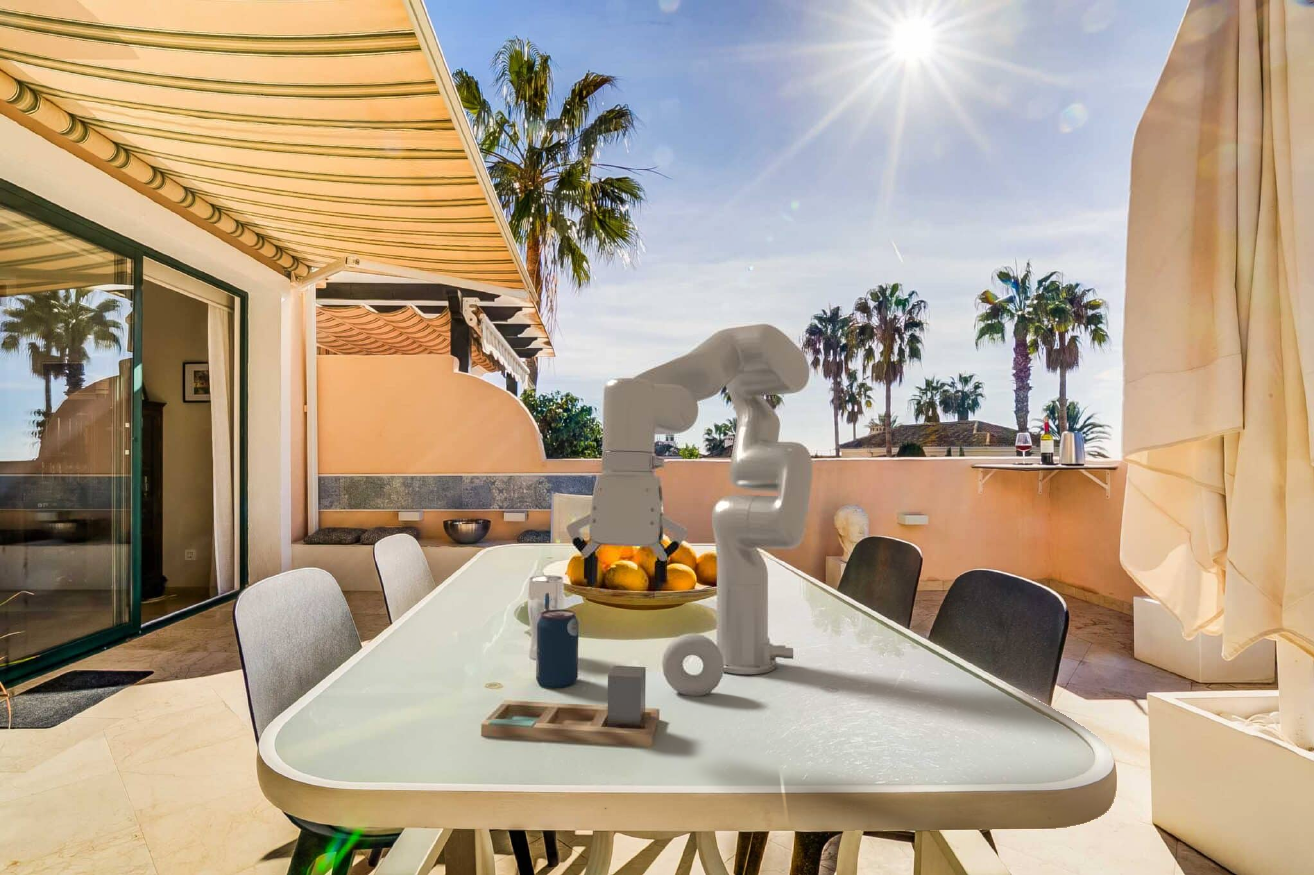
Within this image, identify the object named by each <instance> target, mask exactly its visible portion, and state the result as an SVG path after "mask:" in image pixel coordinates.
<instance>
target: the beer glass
mask: <svg viewBox="0 0 1314 875" xmlns="http://www.w3.org/2000/svg"><path fill="white" fill-rule="evenodd" d="M528 580H529V581H528V588H527V590H528V591H527V611H528V613H527V614H528V621H529V627H530V636H531V641H530V647H529V651H528V652H529V653H528V657H529V658H530V659H531V658H532V660H534V659H536V658H537V623H538V621H539V619H540V617H541V613H542V612H544V611H548V610H556V609H564V604H565V594H564V593H565V590H564V589H565V588H564V587H565V586H564V577H563V576H559V575H551V574H550V575H549V574H548V575H547V574H546V575H545V574H544V575H543V574H542V575H535V576H530V577H529V579H528Z"/></svg>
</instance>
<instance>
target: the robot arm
mask: <svg viewBox="0 0 1314 875" xmlns="http://www.w3.org/2000/svg"><path fill="white" fill-rule="evenodd" d="M809 378H810V365H809V362H808V359H807V356H806V355H805V353H804V352H803V351H802V350H801V348H800V347H799V346H797V345H796V344H795V343H794V341H793V340H791V338H789V337H788V335H786V334H785V333H784V332H783V331H782V330H780V329H779V328H777V327H776V326H774V325H771V324H768V323H767V324H766V323H759V324H752V325H751V324H750V325H744V326H737V327H729V328H725V329H721V330H718V331H717V332H714V334H712V335H711V336H710V337H709V336H708V338H707V339H705V340H704V341H703V342H701V343H700V344H699V345H698V346H697V347H695V348H694V349H692V350H690V351H689V352H688V353H687V354H685V355H681V356H679V357H677V358H674V359H672V360H670V361H667V362H664V363H662V364H660V365H657V366H654V367H653V368H650V369H647V370H646V371H643V372H641V373H639V374H637V375H636V376H633V377H626V378H625V377H623V378H621V377H620V378H619V377H618V378H613V379H611V380H609V381H608V382H607V383H605V386H604V388H603V403H602V405H603V408H602V412H603V414H602V444H601V445H602V446H601V448H602V450H601V451H602V452H601V474H597V475H596V478H595V483H594V487H593V494H592V500H591V505H590V506H591V507H590V514H588V515H586V516H583V517H581V518H580V519H577V520H576V521H573V522H571V523H570V524H568V525H567V526H566V531H567V533H568V535H569V537H570V539H571V541H572V545H573V546H574V547H575V549H577V551H579V553H580V554H581V557H582V558H583V580H586V587H588V588H589V587H592V586H595V585H596V584H597V583H598V570H599V569H598V566H599V565H598V564H599V557H598V555H596V552H597V551H598V550H599V548H600V547H601V546H602V545H603V546H618V547H619V546H621V547H622V546H624V547H627V546H628V547H649V548H650V549H651V550H652V552H653V553H654V555H656V560H655V561H654V575H653V576H654V578H653V580H654V582H653V589H654V590H655V591H660V590H661V589H662V588H663V586H664V585H663V584H667V583H668V582H667V581H668V559H670V557H672V556H673V554H674V553H675V552H676V551H677V550H679V548H680V547H681V545H682V543H683V542H684V540H685V537H686V536H687V534H688V529H687V528H686V527H684V526H682V525H680V524H678V523H677V522H675V521H673V520H671V519H670V518H668V517H666V516H665V515H664V500H663V489H662V482H661V477H660V475H655V472H656V470H657V469H659V468H664V467H665V458H663V457H659V456H657V455H656V453H655V450H656V449H655V443H656V440H655V438H656V437H655V436H656V435H659V436H660V435H675V434H681V433H684V432H687V431H688V430H689V429H691V428H692V427H693V426H694V424H695V423H696V422H697V419H698V415H699V406H698V402H700V401H703V400H704V401H705V400H708V399H709V398H710V399H711V398H712V397H714V396H716V395H718V394H719V393H720V392H721V391H722V390H723V389H724V388H726V390H727V392H728V394H729V397H730V400H731V402H732V406H733V407H734V411H735V415H736V429H735V435H734V442H733V445H732V447H733V448H732V452H731V455H730V456H731V457H730V464H729V470H728V471H729V473H728V476H729V480H730V483H731V484H732V485H733V487H735V488H737V490H738V489H739V490H741V491H742V490H743V491H750V492H765V493H766V492H768V493H769V492H771V493H772V492H773V493H776V492H777V493H779V495H773V496H772V495H759V494H758V495H757V494H754V495H753V494H731V495H727V496H724V497H723V498H720V499H719V500H718V501H717V502H716V503H715V504H714V507H713V509H712V513H711V524H712V532H713V535H714V538H713V539H714V543H715V551H716V646H717V647H718V648H719V650H720V652H721V654H722V656H723V662H724V670H723V673H727V674H732V675H733V674H734V675H760V674H766V673H770V672H772V671H774V670H775V669H776V668H777V658H781V659H782V658H783V659H789V660H790V659H794V648H793V647H786V645H783V644H781V645H776V644H775V645H774V644H773V643H771V641H770V637H769V618H768V617H769V573H768V572H769V571H768V567H767V563H766V562H765V559H764V557H763V556H762V555H761V553H760V551H759V549H758V548H765V549H776V550H791V549H795V548H797V547H798V546H799V545H800V544H801V543H802V541H803V540H804V536H805V534H806V533H805V532H806V526H807V521H808V512H809V506H810V499H811V491H812V483H813V472H814V470H813V469H814V466H813V461H812V456H811V453H810V451H809V449H808V448H807V447H806V446H805V445H803V444H802V443H799V442H794V441H779V438H780V437H779V436H780V430H781V429H780V428H781V421H780V419H779V417H778V414H777V413H776V411H775V410H774V408H773V407H772V406H771V405H770V404H769V403H768V401H767V400H766V398H764V396H770V395H772V396H773V395H787V394H789V395H790V394H795V393H799V392H800V391H803V390H804V388H806V386H807V384H808V383H809V380H810V379H809ZM588 526H589V528H588V529H589V530H588V531H589V533H588V534H589V539H590V541H589V542H587V541H586V540H585V539H584V537H583V536H582V534H581V532H580V531H581V529H583V528H585V527H588ZM665 529H667V530H668V531H670V532H672V534H674V537H673V538H672V541H671V542H670V543H669V545H667V546H666V545H664V543H663V542H662V541H663V538H664V530H665Z"/></svg>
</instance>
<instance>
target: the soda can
mask: <svg viewBox="0 0 1314 875" xmlns="http://www.w3.org/2000/svg"><path fill="white" fill-rule="evenodd" d="M579 624H580V623H579V621H578V619H577V616H576V612H575V611H574V610H571V609H564V608H563V609H556V610H548V611H544V612H542V613H541V617H540V619H539V621H538V623H537V658H536V660H535V661H536V662H535V664H536V667H535V669H536V670H535V672H536V674H535V679H536V681H537V683H538V685H539V686H540V687H543V688H546V689H564V688H569V687H571V686H573V685H575V683H576V681H577V679H578V678H579V677H578V676H579Z"/></svg>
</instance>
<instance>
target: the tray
mask: <svg viewBox="0 0 1314 875" xmlns="http://www.w3.org/2000/svg"><path fill="white" fill-rule="evenodd" d="M607 710H608V705H598V704H596V705H593V704H583V703H582V704H580V703H579V704H578V703H564V702H563V703H562V702H561V703H560V702H542V701H541V702H540V701H529V700H528V701H526V700H525V701H524V700H523V701H522V700H509V699H507V700H504V701H503V702H502V703H501V704H500V705H499V706H498V707H497V708H496V709H495V710H493V711H492V713H491V714H490V715H489V716H488V717H486V719H485V720H484V721H482V722H481V724H480V725H481V727H480V736H481V737H491V738H492V737H494V738H508V739H509V738H510V739H525V740H541V741H555V742H556V741H557V742H570V743H571V742H572V743H587V744H604V745H605V744H606V745H618V746H619V745H620V746H632V747H633V746H635V747H636V746H638V747H650V748H651V747H652V746H653V742H654V738H655V736H656V732H657V729H658V725H659V722H660V710H661V709H660V708H654V707H653V708H650V707H649V708H648V707H645V727H644V729H631V728H614V727H607Z"/></svg>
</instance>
